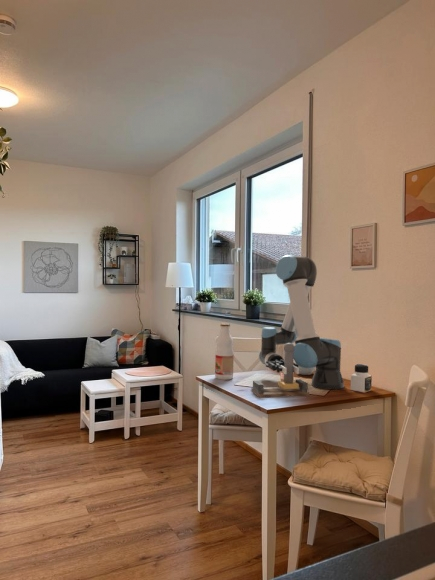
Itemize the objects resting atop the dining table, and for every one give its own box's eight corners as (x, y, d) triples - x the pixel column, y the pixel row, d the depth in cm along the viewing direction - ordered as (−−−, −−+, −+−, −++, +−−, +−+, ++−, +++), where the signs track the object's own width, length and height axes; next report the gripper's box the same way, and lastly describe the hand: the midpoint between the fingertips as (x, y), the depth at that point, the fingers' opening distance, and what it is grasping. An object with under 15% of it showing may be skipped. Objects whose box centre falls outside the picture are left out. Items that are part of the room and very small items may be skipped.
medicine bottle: (364, 392, 196) (365, 366, 196) (350, 390, 201) (350, 364, 201) (371, 390, 201) (372, 364, 201) (357, 387, 206) (357, 362, 206)
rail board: (298, 389, 201) (298, 378, 201) (309, 395, 189) (309, 384, 189) (251, 390, 195) (251, 379, 195) (259, 397, 184) (259, 385, 184)
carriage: (292, 385, 197) (293, 341, 197) (298, 388, 190) (299, 343, 190) (278, 385, 196) (279, 341, 195) (283, 389, 189) (284, 343, 189)
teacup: (313, 376, 230) (314, 361, 230) (293, 374, 233) (293, 360, 233) (316, 371, 243) (316, 357, 243) (297, 370, 246) (297, 356, 246)
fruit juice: (230, 380, 216) (231, 325, 215) (212, 379, 218) (213, 324, 218) (235, 376, 225) (236, 323, 224) (217, 375, 227) (218, 322, 227)
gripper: (291, 368, 213) (310, 379, 190) (256, 369, 209) (272, 379, 187) (292, 353, 213) (311, 362, 190) (257, 353, 209) (272, 362, 186)
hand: (291, 371), depth 188 cm, fingers open, 5 cm apart
